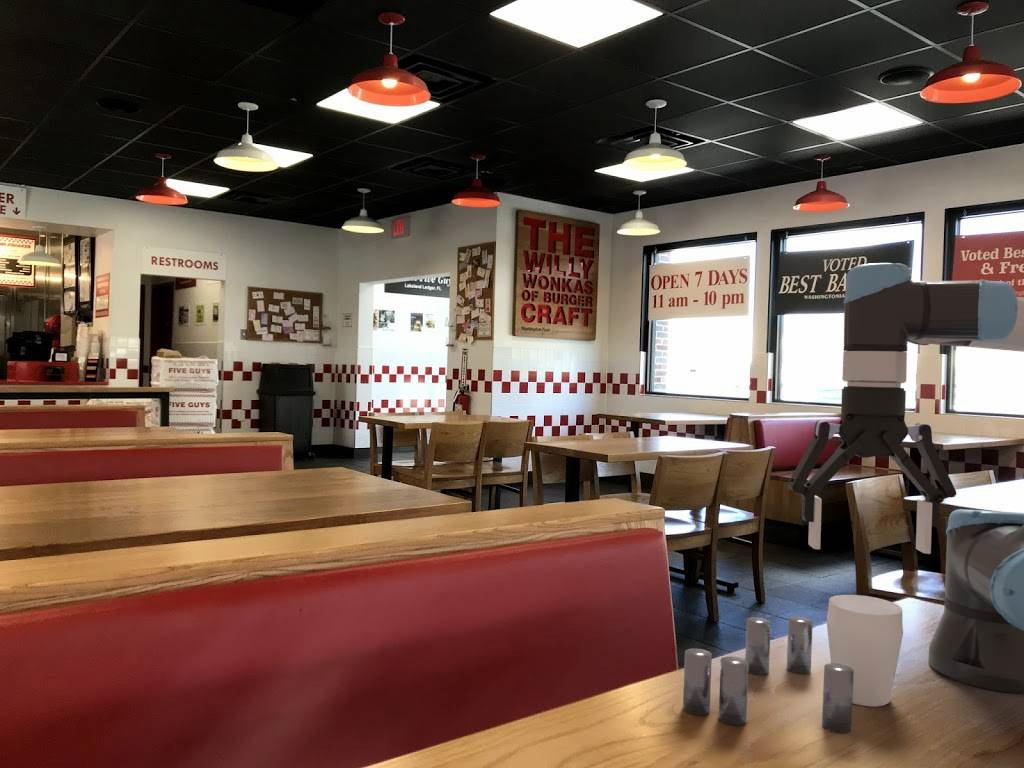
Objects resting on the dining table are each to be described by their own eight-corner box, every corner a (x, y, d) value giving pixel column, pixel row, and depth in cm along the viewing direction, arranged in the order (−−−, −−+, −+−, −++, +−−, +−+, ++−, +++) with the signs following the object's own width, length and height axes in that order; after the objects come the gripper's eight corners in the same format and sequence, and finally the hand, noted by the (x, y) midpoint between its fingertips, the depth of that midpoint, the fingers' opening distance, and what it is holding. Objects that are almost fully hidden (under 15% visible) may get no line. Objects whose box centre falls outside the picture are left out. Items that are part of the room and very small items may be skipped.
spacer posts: (807, 666, 113) (809, 617, 113) (855, 734, 92) (857, 674, 92) (670, 657, 115) (672, 609, 115) (686, 721, 94) (688, 663, 94)
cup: (909, 715, 98) (913, 618, 98) (831, 707, 100) (835, 611, 99) (889, 686, 107) (893, 597, 107) (818, 679, 109) (821, 591, 108)
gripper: (961, 386, 105) (955, 546, 106) (767, 382, 108) (763, 538, 108) (989, 388, 98) (983, 560, 98) (781, 383, 100) (776, 551, 101)
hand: (868, 549), depth 103 cm, fingers open, 13 cm apart
